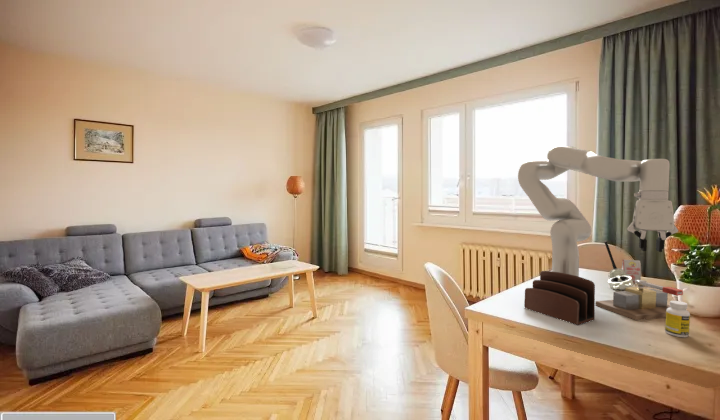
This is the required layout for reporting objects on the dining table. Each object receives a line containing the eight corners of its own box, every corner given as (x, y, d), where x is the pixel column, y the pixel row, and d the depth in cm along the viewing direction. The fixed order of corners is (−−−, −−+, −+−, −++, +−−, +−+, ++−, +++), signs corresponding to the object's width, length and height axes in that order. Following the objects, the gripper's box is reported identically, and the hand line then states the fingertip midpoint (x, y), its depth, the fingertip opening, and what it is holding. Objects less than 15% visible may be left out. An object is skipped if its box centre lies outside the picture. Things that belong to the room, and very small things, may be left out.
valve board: (636, 320, 120) (636, 315, 120) (595, 305, 135) (595, 301, 135) (688, 315, 124) (688, 310, 124) (642, 301, 140) (643, 297, 140)
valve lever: (632, 284, 130) (633, 279, 130) (640, 283, 131) (640, 279, 131) (675, 295, 116) (675, 290, 116) (683, 294, 117) (683, 290, 117)
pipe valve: (627, 310, 125) (628, 289, 124) (611, 304, 131) (612, 284, 130) (669, 306, 128) (670, 286, 128) (651, 301, 135) (652, 281, 134)
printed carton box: (621, 279, 173) (621, 258, 173) (638, 280, 170) (639, 260, 170) (622, 281, 170) (623, 260, 169) (640, 282, 167) (641, 261, 166)
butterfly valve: (637, 292, 150) (630, 279, 165) (621, 247, 151) (616, 238, 166) (613, 295, 155) (608, 283, 170) (597, 252, 155) (594, 243, 170)
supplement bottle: (682, 339, 105) (684, 306, 104) (661, 332, 110) (662, 301, 109) (692, 336, 107) (694, 303, 106) (671, 329, 112) (672, 298, 111)
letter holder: (540, 304, 138) (541, 268, 137) (595, 320, 120) (596, 279, 119) (523, 308, 133) (524, 271, 132) (578, 326, 115) (579, 283, 115)
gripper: (626, 196, 119) (624, 251, 120) (690, 196, 112) (687, 254, 113) (620, 196, 126) (618, 247, 127) (680, 196, 119) (677, 250, 120)
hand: (651, 250), depth 120 cm, fingers open, 3 cm apart
